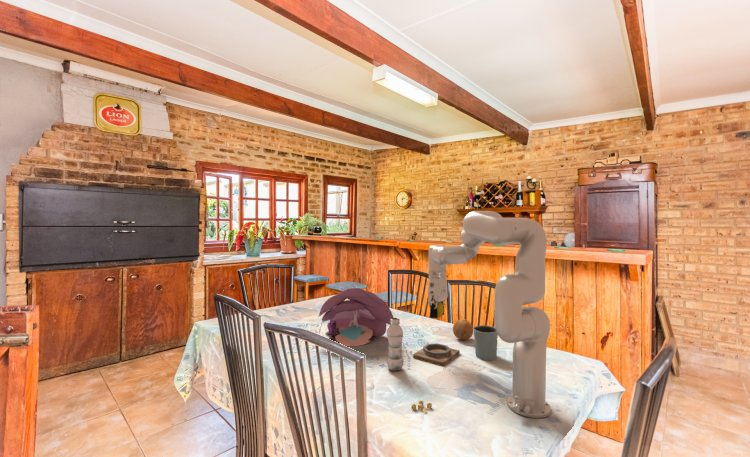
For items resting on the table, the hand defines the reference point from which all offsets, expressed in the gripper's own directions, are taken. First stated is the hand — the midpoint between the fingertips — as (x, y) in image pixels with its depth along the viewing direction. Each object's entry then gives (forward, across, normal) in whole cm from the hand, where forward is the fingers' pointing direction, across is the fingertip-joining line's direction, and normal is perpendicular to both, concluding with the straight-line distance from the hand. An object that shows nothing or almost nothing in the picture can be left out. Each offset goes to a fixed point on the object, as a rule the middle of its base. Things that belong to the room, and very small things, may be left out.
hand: (437, 315), depth 150 cm
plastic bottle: (+18, -22, +7) cm, 29 cm away
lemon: (+1, 0, 0) cm, 1 cm away
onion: (+18, +26, -1) cm, 32 cm away
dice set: (+18, -40, -15) cm, 47 cm away
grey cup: (+18, +12, -17) cm, 27 cm away
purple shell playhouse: (+18, -5, +42) cm, 46 cm away
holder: (+18, 0, 0) cm, 18 cm away
